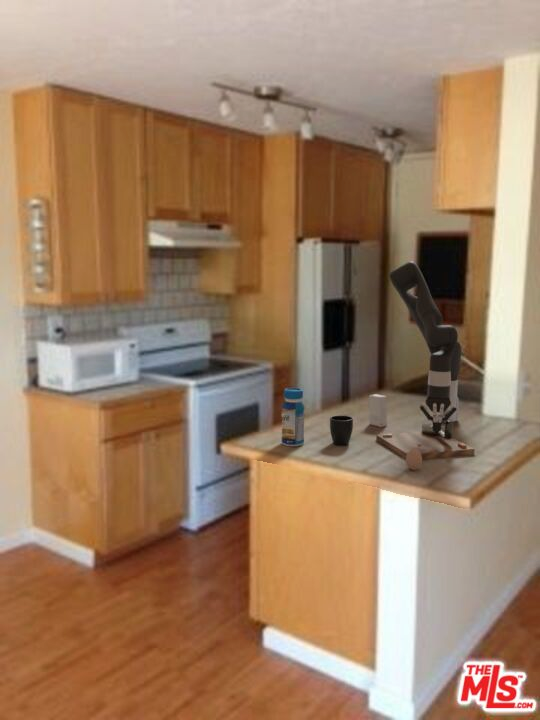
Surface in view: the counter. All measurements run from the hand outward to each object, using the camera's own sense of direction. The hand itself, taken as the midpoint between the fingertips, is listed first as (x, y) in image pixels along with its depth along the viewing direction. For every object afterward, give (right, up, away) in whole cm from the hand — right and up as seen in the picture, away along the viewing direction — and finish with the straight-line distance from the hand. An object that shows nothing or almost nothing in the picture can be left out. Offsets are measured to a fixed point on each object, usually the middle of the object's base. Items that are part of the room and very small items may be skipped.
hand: (436, 432), depth 234 cm
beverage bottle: (-50, -5, +9) cm, 51 cm away
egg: (-12, -10, -19) cm, 25 cm away
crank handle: (+4, -3, +10) cm, 11 cm away
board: (-3, -6, +5) cm, 9 cm away
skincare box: (-15, -1, +35) cm, 38 cm away
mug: (-32, -5, +11) cm, 34 cm away
